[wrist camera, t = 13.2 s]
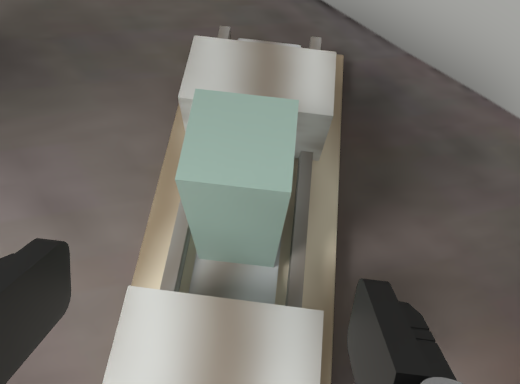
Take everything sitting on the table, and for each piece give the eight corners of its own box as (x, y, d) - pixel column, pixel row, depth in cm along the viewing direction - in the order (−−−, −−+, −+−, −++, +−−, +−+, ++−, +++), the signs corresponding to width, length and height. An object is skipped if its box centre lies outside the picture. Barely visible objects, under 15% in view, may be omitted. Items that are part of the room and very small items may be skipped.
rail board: (75, 527, 20) (6, 580, 14) (197, 48, 35) (187, -25, 29) (319, 561, 20) (352, 629, 14) (340, 65, 35) (361, -5, 29)
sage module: (198, 258, 25) (174, 179, 16) (210, 192, 27) (195, 88, 18) (273, 267, 25) (291, 192, 16) (279, 200, 27) (298, 99, 18)
